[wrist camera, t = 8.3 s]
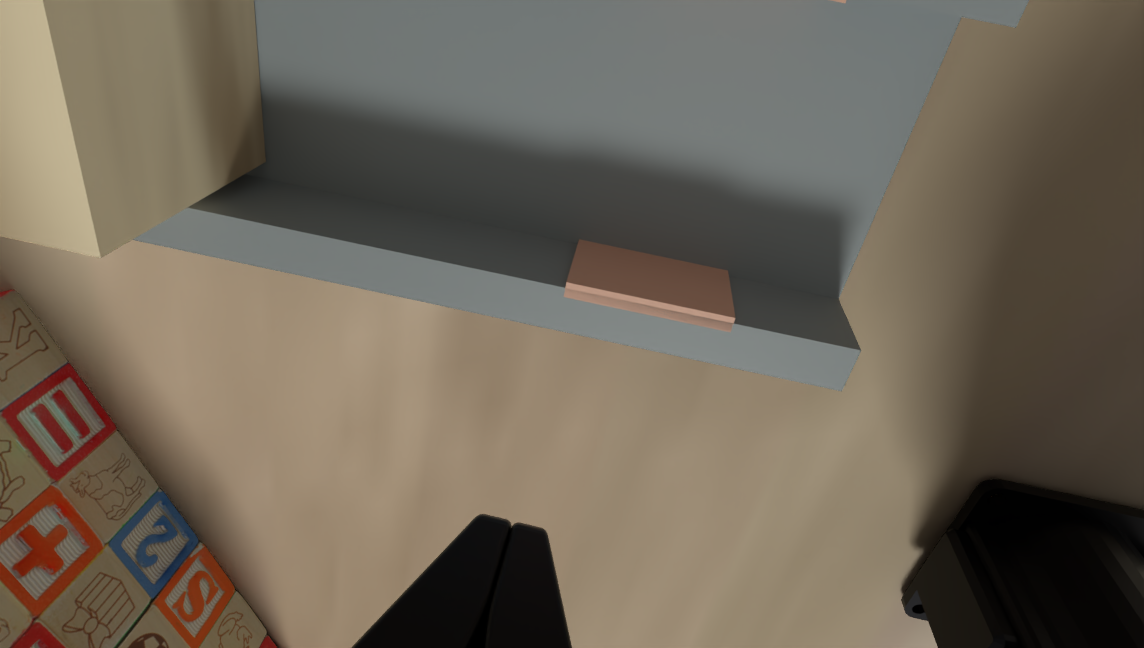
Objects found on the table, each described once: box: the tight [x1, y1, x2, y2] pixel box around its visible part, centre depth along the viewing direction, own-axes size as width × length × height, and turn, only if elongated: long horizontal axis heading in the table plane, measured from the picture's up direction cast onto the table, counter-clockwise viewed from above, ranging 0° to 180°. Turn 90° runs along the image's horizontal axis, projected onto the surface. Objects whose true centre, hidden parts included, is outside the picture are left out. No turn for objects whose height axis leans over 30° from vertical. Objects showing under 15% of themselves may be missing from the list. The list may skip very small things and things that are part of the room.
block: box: [0, 0, 266, 258], centre depth 14 cm, size 6×6×6 cm
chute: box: [133, 0, 1029, 391], centre depth 15 cm, size 20×9×4 cm, turn 80°
